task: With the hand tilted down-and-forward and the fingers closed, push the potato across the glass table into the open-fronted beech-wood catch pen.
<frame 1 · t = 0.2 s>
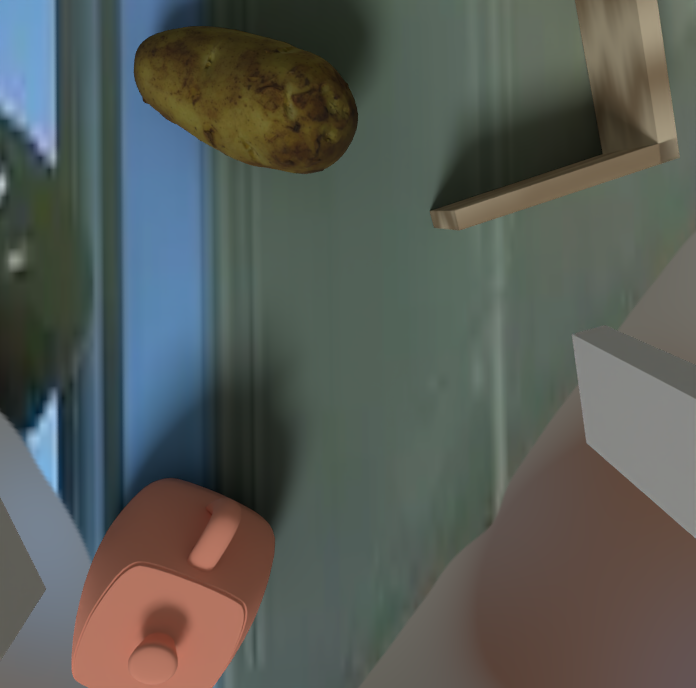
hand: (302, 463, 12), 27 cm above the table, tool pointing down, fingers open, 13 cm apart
catch pen: (482, 31, 36), on the table
potato: (252, 106, 36), on the table
teapot: (186, 548, 43), on the table
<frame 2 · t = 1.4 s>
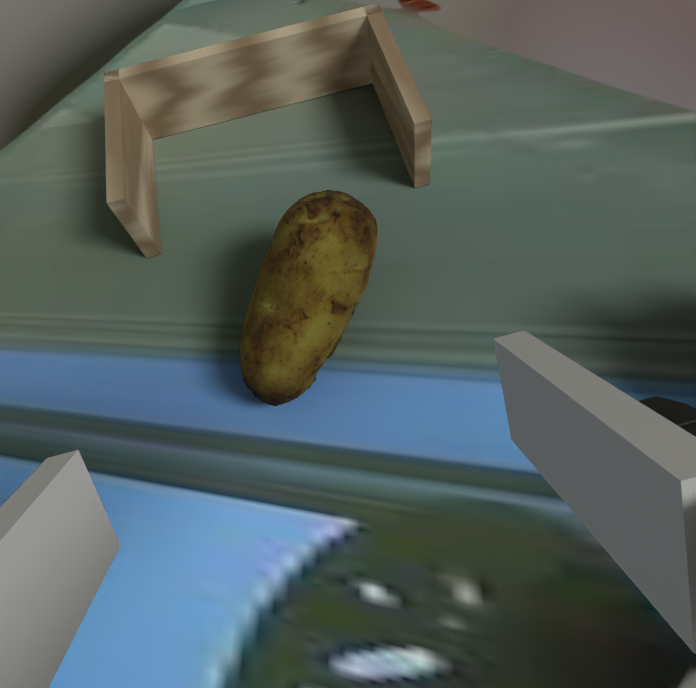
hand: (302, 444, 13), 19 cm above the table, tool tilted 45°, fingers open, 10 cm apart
catch pen: (274, 162, 44), on the table
potato: (313, 326, 37), on the table
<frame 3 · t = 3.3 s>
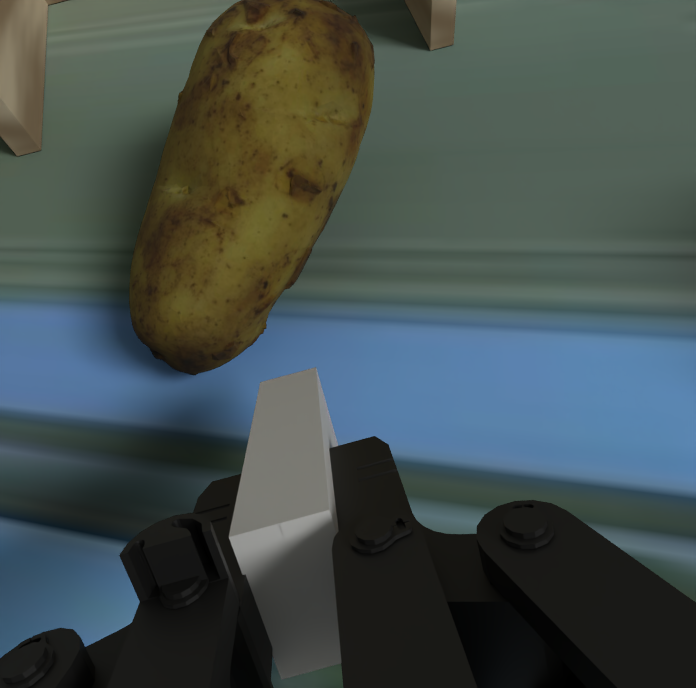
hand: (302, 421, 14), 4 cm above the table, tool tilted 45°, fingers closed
catch pen: (220, 25, 30), on the table
potato: (270, 249, 23), on the table
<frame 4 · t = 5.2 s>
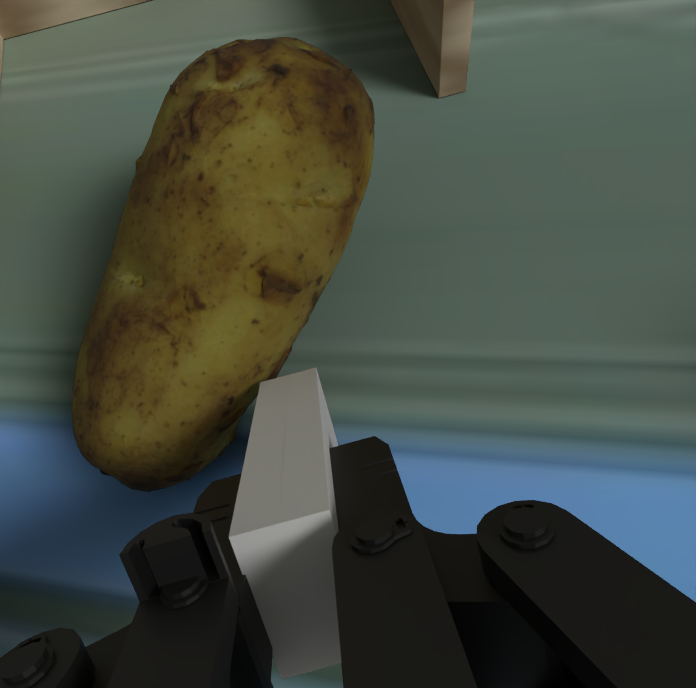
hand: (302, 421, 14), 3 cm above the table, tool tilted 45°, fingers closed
catch pen: (198, 65, 26), on the table
potato: (252, 322, 20), on the table
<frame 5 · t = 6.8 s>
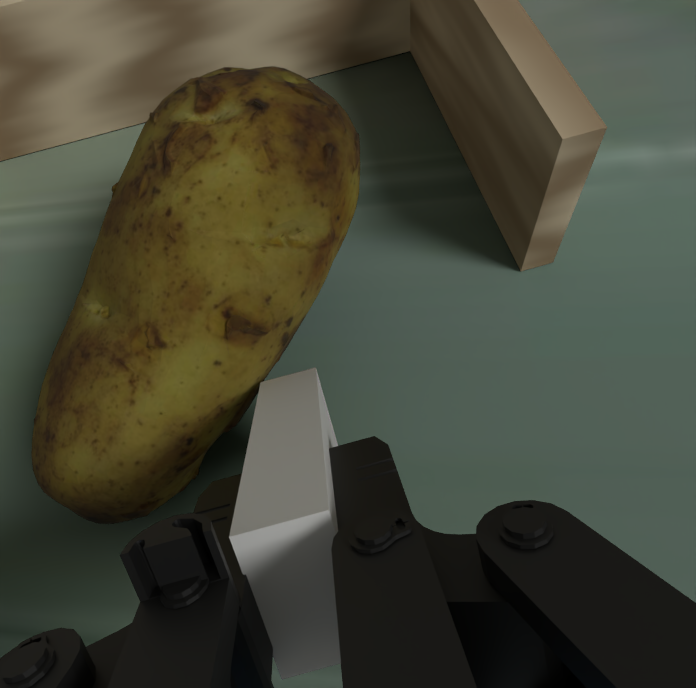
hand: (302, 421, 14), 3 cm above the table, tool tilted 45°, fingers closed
catch pen: (222, 210, 22), on the table
potato: (233, 348, 19), on the table, touching gripper
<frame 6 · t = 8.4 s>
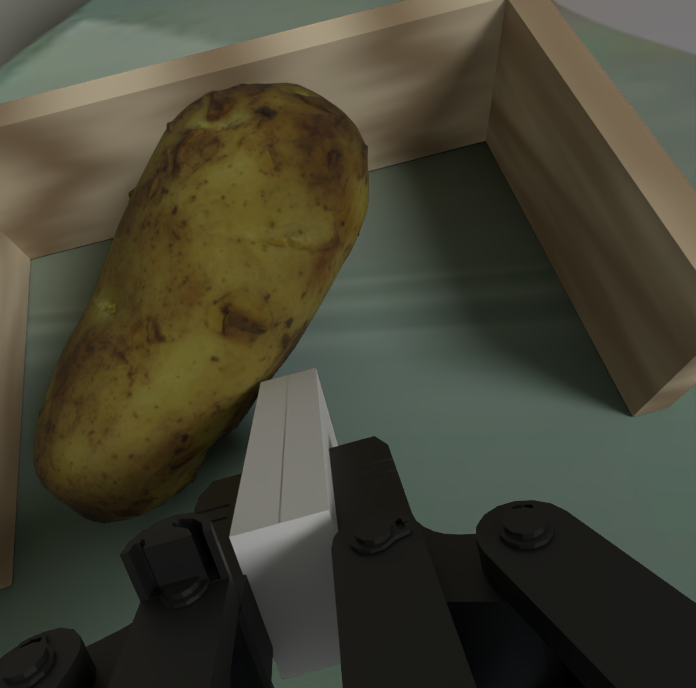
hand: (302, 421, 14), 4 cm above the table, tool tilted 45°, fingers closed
catch pen: (287, 326, 20), on the table
potato: (243, 360, 19), on the table, touching gripper
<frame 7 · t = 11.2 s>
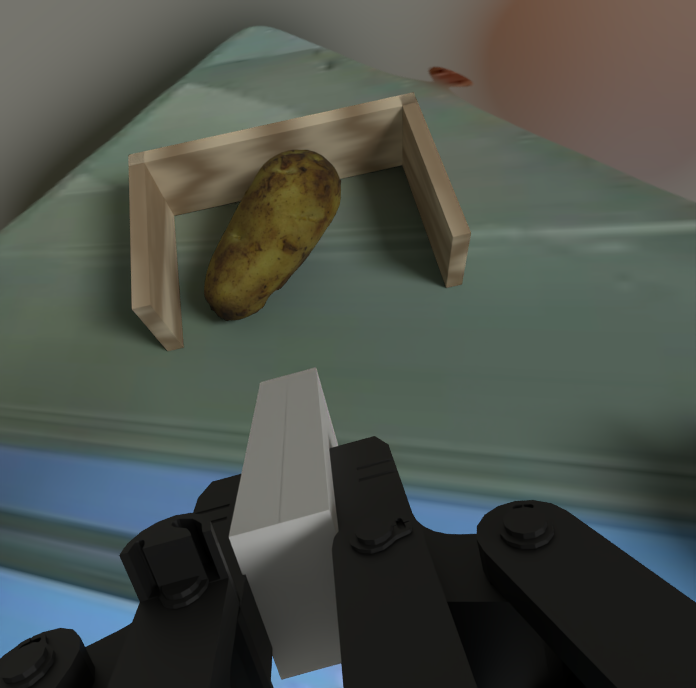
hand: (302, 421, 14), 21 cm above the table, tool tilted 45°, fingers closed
catch pen: (301, 249, 43), on the table
potato: (280, 265, 43), on the table
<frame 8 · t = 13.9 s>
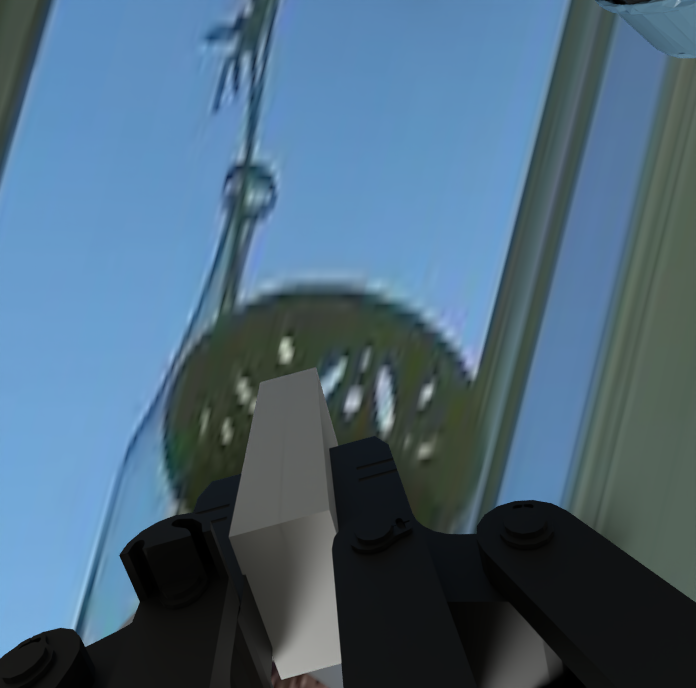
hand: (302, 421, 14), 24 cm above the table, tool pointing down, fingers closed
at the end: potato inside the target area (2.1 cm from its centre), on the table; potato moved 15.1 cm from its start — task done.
